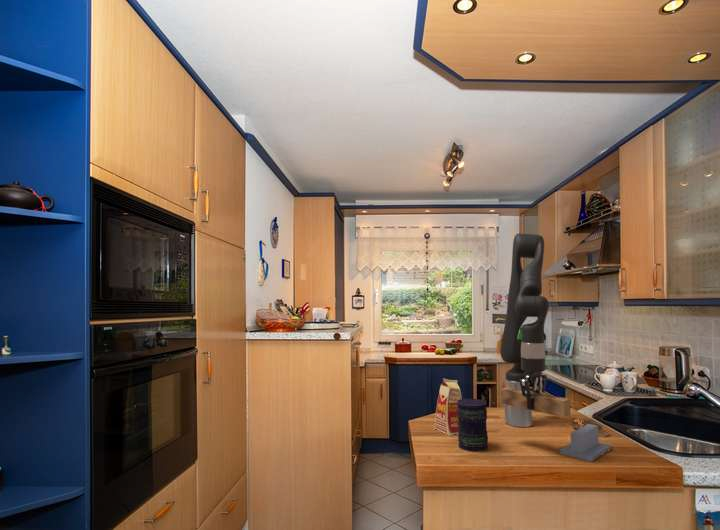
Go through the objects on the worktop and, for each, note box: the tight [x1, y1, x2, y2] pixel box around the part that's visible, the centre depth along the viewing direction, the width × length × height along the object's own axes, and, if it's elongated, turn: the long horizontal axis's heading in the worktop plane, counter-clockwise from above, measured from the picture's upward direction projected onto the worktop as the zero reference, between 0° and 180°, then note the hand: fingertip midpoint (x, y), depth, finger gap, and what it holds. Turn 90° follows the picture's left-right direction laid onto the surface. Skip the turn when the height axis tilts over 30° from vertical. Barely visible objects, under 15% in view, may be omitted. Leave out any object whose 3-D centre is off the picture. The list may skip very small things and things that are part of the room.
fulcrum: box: [558, 424, 612, 463], centre depth 145 cm, size 10×16×7 cm, turn 132°
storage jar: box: [457, 398, 489, 453], centre depth 152 cm, size 10×10×15 cm
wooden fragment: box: [573, 419, 612, 438], centre depth 170 cm, size 26×11×1 cm, turn 169°
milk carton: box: [434, 377, 463, 436], centre depth 170 cm, size 9×9×20 cm
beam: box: [500, 386, 571, 418], centre depth 148 cm, size 22×4×5 cm, turn 41°
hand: (534, 407), depth 148 cm, fingers closed on beam, 4 cm apart
